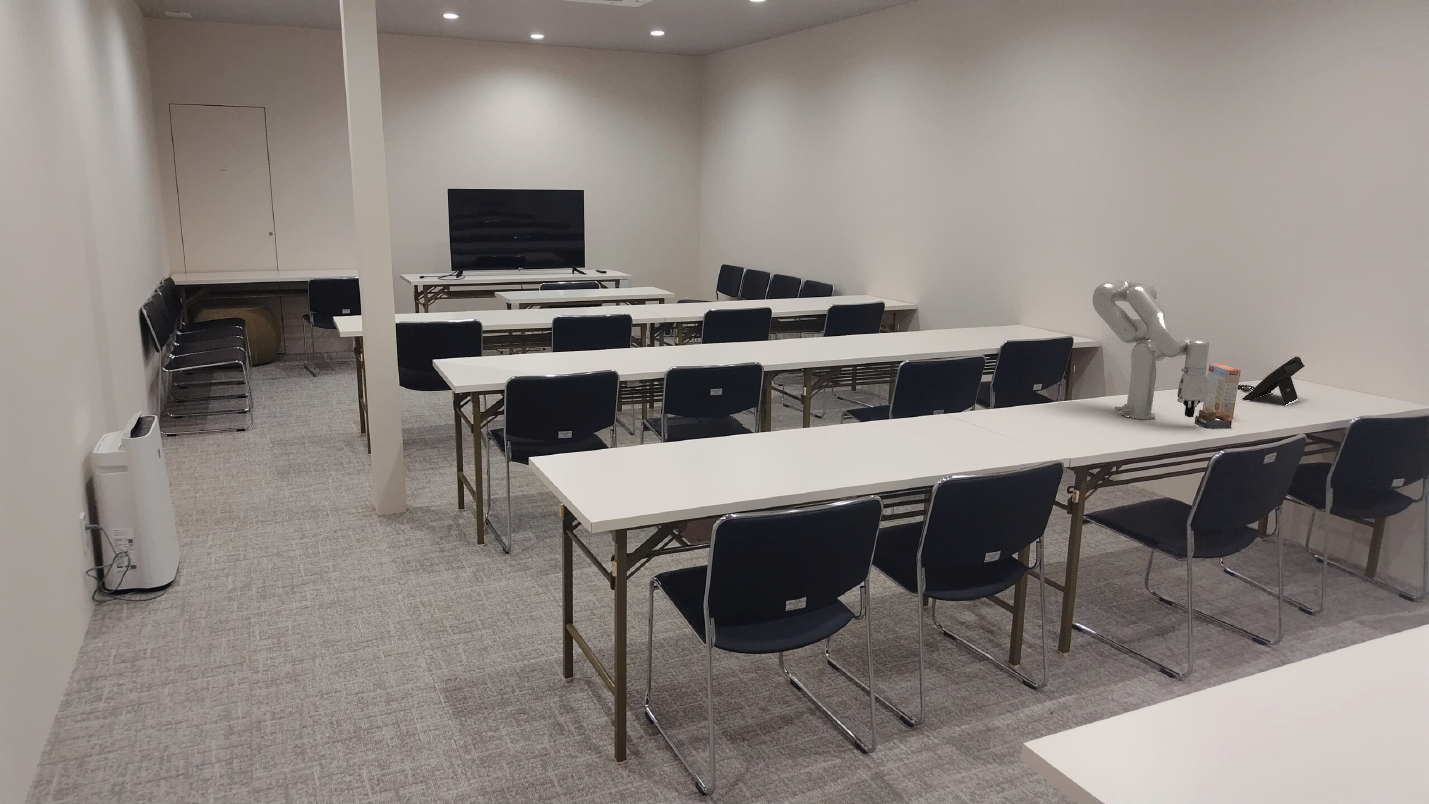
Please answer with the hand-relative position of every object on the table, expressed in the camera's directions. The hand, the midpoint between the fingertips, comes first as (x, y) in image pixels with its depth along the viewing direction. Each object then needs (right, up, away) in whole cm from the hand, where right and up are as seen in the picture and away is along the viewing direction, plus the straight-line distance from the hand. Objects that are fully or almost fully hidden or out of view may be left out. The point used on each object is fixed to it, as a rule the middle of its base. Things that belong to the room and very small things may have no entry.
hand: (1189, 416), depth 354 cm
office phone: (+62, +8, +54) cm, 83 cm away
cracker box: (+22, 0, +19) cm, 29 cm away
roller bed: (+11, -4, +2) cm, 11 cm away
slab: (+8, -1, +1) cm, 8 cm away
